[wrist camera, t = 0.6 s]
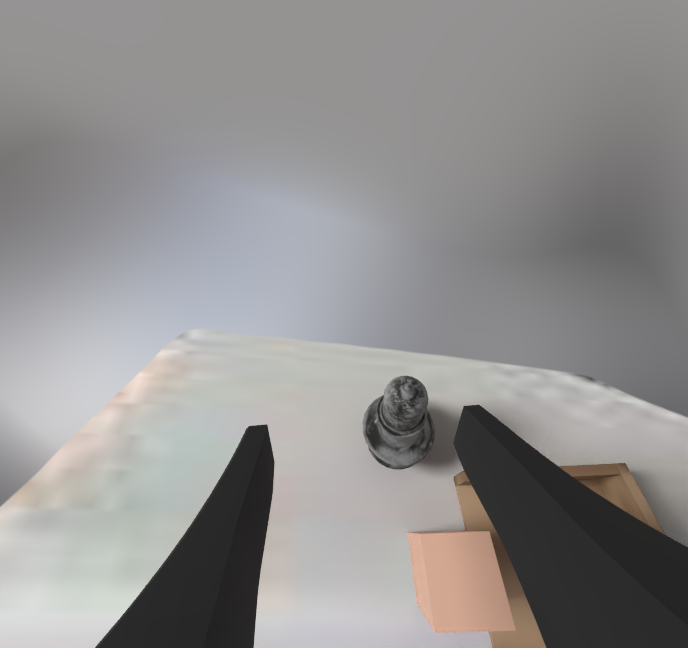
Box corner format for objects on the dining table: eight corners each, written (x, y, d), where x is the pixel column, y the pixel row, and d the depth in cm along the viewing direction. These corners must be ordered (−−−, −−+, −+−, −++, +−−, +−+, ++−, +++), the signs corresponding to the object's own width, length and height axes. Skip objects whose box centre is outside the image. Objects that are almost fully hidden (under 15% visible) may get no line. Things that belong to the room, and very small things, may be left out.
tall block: (474, 601, 20) (516, 630, 14) (416, 603, 20) (434, 632, 14) (459, 530, 22) (489, 531, 16) (407, 532, 22) (419, 533, 17)
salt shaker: (439, 430, 27) (477, 374, 17) (406, 488, 24) (430, 461, 14) (385, 395, 29) (392, 328, 19) (351, 445, 26) (339, 396, 17)
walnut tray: (705, 681, 17) (761, 706, 15) (501, 684, 18) (522, 709, 15) (599, 469, 24) (625, 463, 21) (453, 476, 24) (462, 471, 22)
